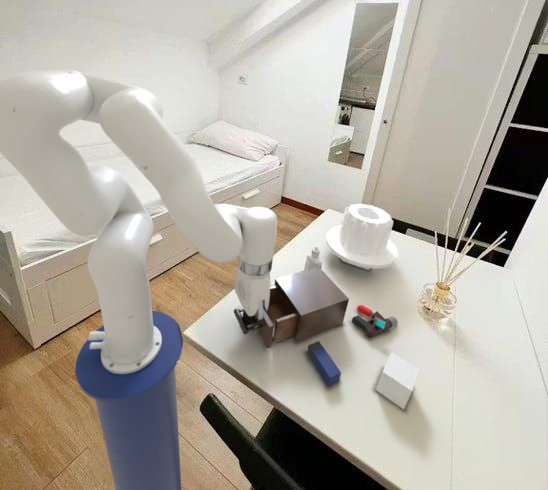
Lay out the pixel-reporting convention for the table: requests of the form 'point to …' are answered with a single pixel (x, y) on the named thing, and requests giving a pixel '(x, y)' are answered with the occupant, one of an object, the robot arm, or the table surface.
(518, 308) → the table surface
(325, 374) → the blue block
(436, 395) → the table surface
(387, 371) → the white cube
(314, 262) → the eye dropper bottle
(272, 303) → the drawer
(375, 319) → the toy gun
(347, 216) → the flanged gear
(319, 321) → the cabinet
